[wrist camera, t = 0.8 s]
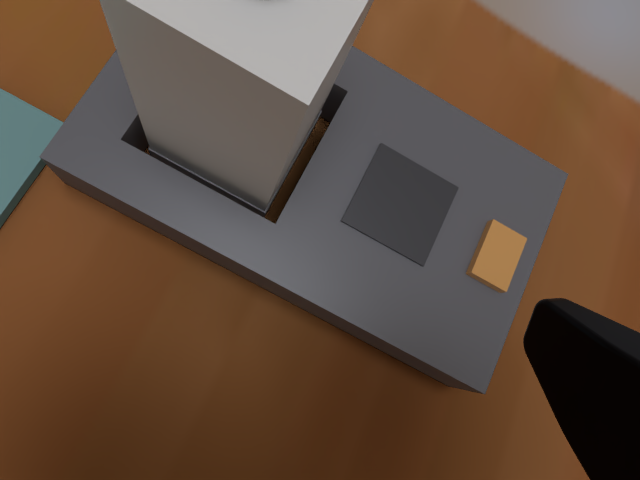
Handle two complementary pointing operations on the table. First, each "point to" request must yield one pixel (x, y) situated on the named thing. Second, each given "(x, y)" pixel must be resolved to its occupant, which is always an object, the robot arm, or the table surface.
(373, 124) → the power strip
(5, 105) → the mat
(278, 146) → the white tall block
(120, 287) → the table surface
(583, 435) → the robot arm
